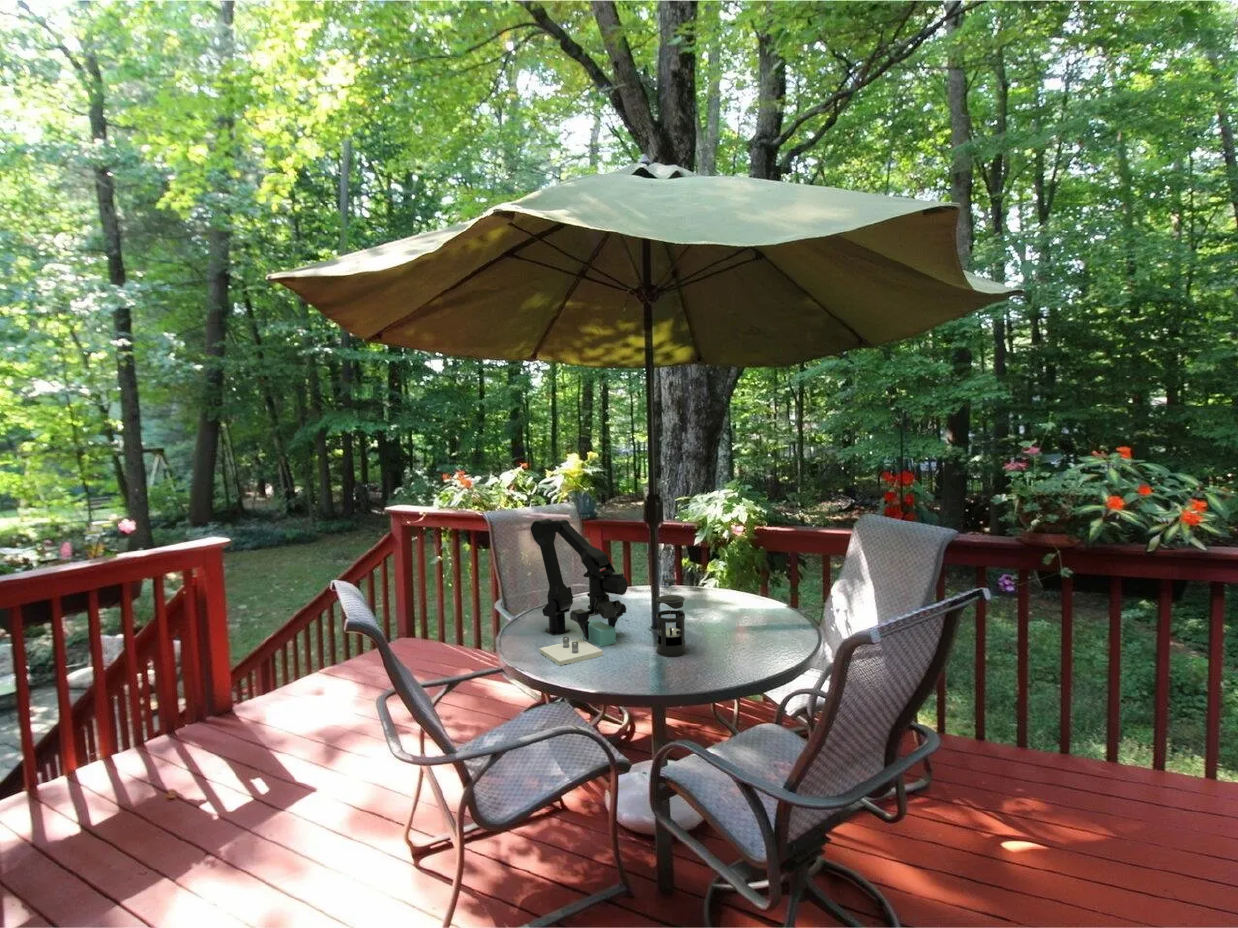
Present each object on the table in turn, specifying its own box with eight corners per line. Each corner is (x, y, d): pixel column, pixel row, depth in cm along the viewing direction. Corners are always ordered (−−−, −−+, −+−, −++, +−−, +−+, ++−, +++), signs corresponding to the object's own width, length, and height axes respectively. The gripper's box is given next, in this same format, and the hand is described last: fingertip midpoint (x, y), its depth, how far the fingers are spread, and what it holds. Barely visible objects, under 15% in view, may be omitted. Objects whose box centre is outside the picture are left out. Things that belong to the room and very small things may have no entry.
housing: (601, 646, 214) (600, 631, 214) (583, 637, 224) (583, 622, 224) (615, 642, 217) (615, 628, 217) (597, 633, 227) (597, 619, 227)
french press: (675, 659, 201) (673, 585, 199) (649, 653, 206) (647, 581, 205) (694, 648, 210) (693, 576, 209) (669, 643, 216) (668, 573, 214)
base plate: (539, 652, 210) (539, 648, 210) (580, 643, 218) (580, 638, 218) (559, 666, 198) (559, 661, 198) (602, 655, 206) (602, 650, 206)
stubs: (561, 646, 211) (561, 637, 211) (567, 645, 212) (567, 636, 212) (574, 653, 204) (573, 644, 204) (579, 652, 205) (579, 642, 205)
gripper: (585, 601, 208) (586, 649, 209) (634, 591, 218) (636, 637, 219) (568, 593, 217) (570, 640, 218) (616, 584, 227) (617, 629, 228)
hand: (599, 636), depth 221 cm, fingers open, 9 cm apart
